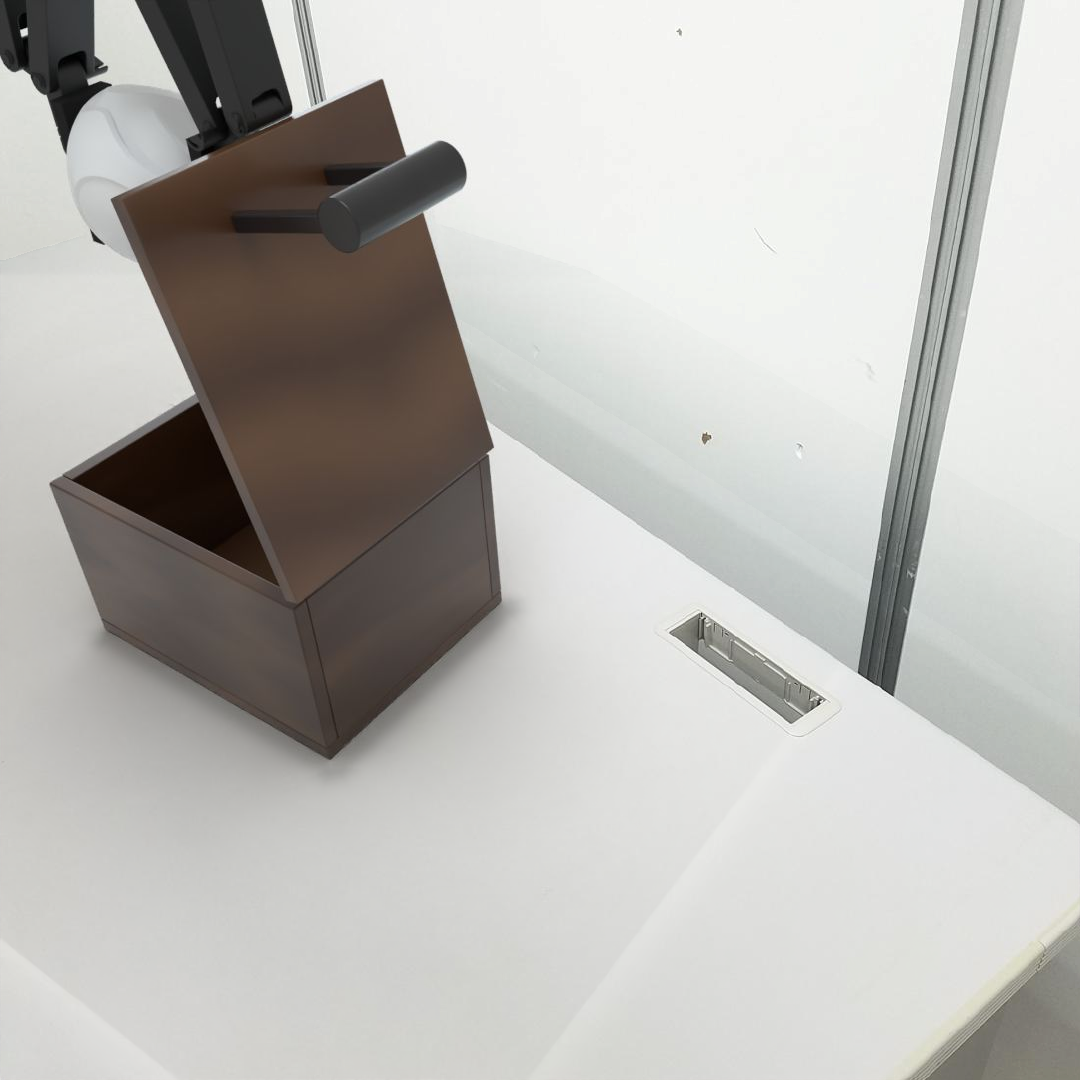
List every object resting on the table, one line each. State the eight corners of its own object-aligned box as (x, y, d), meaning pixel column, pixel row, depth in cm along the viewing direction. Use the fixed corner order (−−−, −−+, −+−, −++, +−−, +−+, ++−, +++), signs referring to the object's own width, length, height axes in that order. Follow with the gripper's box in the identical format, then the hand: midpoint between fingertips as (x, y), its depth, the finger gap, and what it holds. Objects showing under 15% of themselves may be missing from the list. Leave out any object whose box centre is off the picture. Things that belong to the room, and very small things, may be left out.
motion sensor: (263, 292, 54) (224, 114, 49) (84, 308, 54) (26, 130, 48) (271, 213, 60) (237, 47, 55) (110, 227, 59) (61, 60, 54)
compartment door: (109, 198, 44) (249, 195, 39) (370, 79, 52) (511, 65, 47) (285, 601, 53) (415, 636, 49) (482, 445, 61) (609, 463, 57)
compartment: (104, 628, 67) (47, 482, 60) (285, 499, 75) (252, 358, 69) (329, 760, 60) (293, 610, 53) (502, 600, 68) (489, 454, 61)
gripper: (-254, -376, 44) (-26, 232, 59) (139, -359, 35) (289, 354, 50) (-65, -393, 48) (101, 175, 63) (326, -381, 39) (411, 278, 54)
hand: (183, 253), depth 57 cm, fingers closed on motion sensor, 8 cm apart
